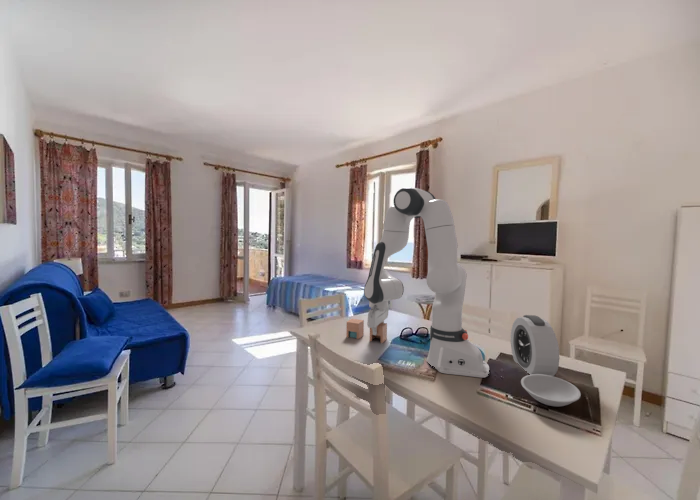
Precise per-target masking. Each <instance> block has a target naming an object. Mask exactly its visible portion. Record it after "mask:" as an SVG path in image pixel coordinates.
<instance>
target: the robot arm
mask: <svg viewBox="0 0 700 500" xmlns="http://www.w3.org/2000/svg"><path fill="white" fill-rule="evenodd" d="M452 213H453V212H452V211H451V207H450V205H449V203H448V202H447V201H446V200H445V199H439V198H438V199H437V198H436V196H434V194H433V193H431V192H430V191H427V190H424V189H421V188H419V187H410V186H409V187H403V188H401V189H398V191H396V192H395V195H394V196H393V205H391V206H389V207H388V208H387V210H386V212H385V218H384V222H383V231H382V236H381V239H380V241H379V242H378V243H377V244H376V246H375V247H374V250H373V255H372V259H371V263H370V267H369V272H368V277H367V280H366V282H365V285H364V288H363V294H364V297H365V298H366V299H367V300H368V301H369V304H368V307H369V308H370V309H369V311H368V312H367V327H368V328H369V329H370V328H372V331H373V335H377V326H378V325H379V324H380V323H385V320H386V319H388V317H389V309H390V308H389V307H390V304H391V301H394V300H399V299H401V298H402V297H403V295H404V291H405V289H404V288H405V287H404V283H403V282H402V281H401V280H400V279H399V278H396V277H394V276H393V275H391V274H390V273H389V271H388V270H387V269H384V268H385V264H386V262H387V260H388V258H390V257H391V256H393V255H394V254H397V253H399V252H400V251H402V250H403V249H404V248H405V247H406V246H407V244H408V242H409V234H410V224H411V221H412V220H413V219H414V218H415V219H419V218H421V219H422V221H423V225H424V233H425V239H426V245H427V275H426V285H427V287H428V288H429V290H431V291H432V292H434V293H435V294H434V299H433V302H432V306H431V325H430V329H429V339H430V344H429V350H428V354H427V358H426V362H427V361H428V363H429V364H430V365H431V366H430V365H429V364H428V363H427V364H428V365H429V366H430V367H432V366H434V367H435V368H434V367H433V368H434V369H436V370H437V371H438V372H439V373H442V374H448V375H456V376H466V377H475V378H487V377H488V376H489V375H490V372H489V370H490V366H489V363H487V362H486V361H485V360H484V358H483V354H482V351H481V350H480V348H478V346H476V345H475V344H474V343H472V342H471V341H470V340H469V339H468V338H469V334H468V330H467V329H465V328H463V326H462V325H463V305H464V299H465V292H466V287H467V286H466V284H467V271H466V269H465V267H464V266H462V265H461V264H460V263H458V246H459V245H458V239H457V238H458V237H457V233H456V226H455V222H454V217H453V214H452ZM488 374H489V375H488Z"/></svg>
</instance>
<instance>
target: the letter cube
mask: <svg viewBox="0 0 700 500" xmlns="http://www.w3.org/2000/svg"><path fill="white" fill-rule="evenodd" d="M349 338H353V339H354V338H355V339H357V332H352V331H350V336H349Z"/></svg>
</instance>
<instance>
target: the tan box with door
mask: <svg viewBox="0 0 700 500" xmlns="http://www.w3.org/2000/svg"><path fill="white" fill-rule="evenodd" d="M364 322H365V321H364V319H357V318H350V319H349V320H348V321H346V332H345V333H346V338H350V331H352V332H357V338H356V339H357V340H359V339H362V337H363V336H364V334H365V332H364V329H365V328H364V327H365V326H364V324H365V323H364Z"/></svg>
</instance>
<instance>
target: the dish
mask: <svg viewBox="0 0 700 500" xmlns="http://www.w3.org/2000/svg"><path fill="white" fill-rule="evenodd" d="M520 384H521V386H522V388H523V389H524V390H525V391H526V392H527V393H528V394H529V395H530V396H531V397H532V398H533V399H534V400H536V401H537V402H539V403H541V404H543V405H545V406H551V407H556V408H557V407H564V406H565V407H566V406H568V405H570V404H572V403H574V402H577V401H579V399H581V395H582V393H581V391H580V389H579V388H578V387H577V386H576V385H574V384H572V383H571V382H569V381H568V380H565V379H563V378H560V377H557V376H555V375H554V376H550V375H544V374H531V375H528V374H527V375H525V376H523V377H522V378H521V380H520Z"/></svg>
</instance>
